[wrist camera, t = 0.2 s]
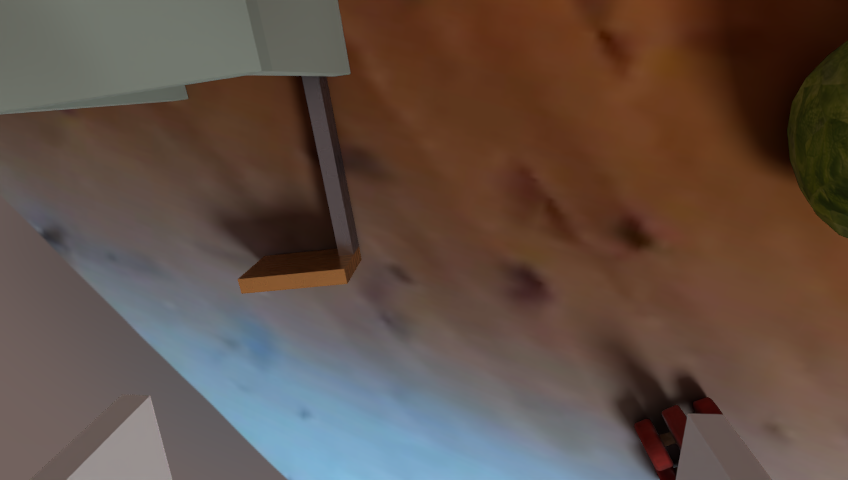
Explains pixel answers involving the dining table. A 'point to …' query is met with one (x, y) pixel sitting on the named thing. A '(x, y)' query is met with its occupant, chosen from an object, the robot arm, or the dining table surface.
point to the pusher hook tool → (346, 258)
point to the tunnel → (156, 48)
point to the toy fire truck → (669, 435)
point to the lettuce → (823, 139)
